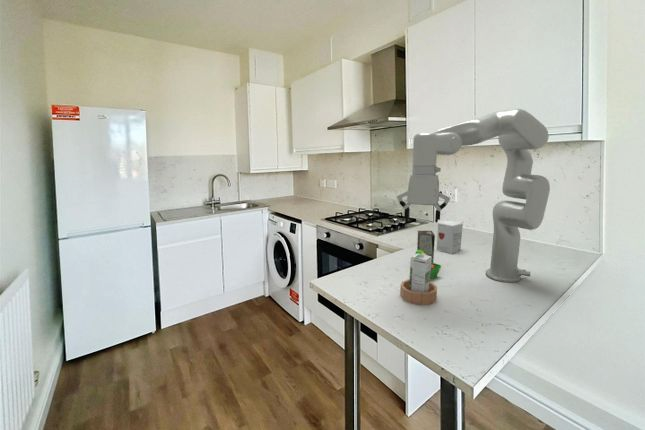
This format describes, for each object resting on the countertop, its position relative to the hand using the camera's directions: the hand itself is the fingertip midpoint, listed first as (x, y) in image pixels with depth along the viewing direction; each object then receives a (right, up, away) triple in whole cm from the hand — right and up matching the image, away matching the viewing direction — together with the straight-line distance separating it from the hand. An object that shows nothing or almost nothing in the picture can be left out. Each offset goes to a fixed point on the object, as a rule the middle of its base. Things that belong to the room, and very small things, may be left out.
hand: (421, 220), depth 110 cm
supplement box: (+32, -17, +56) cm, 67 cm away
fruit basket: (+8, -24, +23) cm, 34 cm away
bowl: (0, -28, +6) cm, 28 cm away
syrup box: (+1, -27, +6) cm, 28 cm away
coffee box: (+12, -22, +34) cm, 42 cm away
